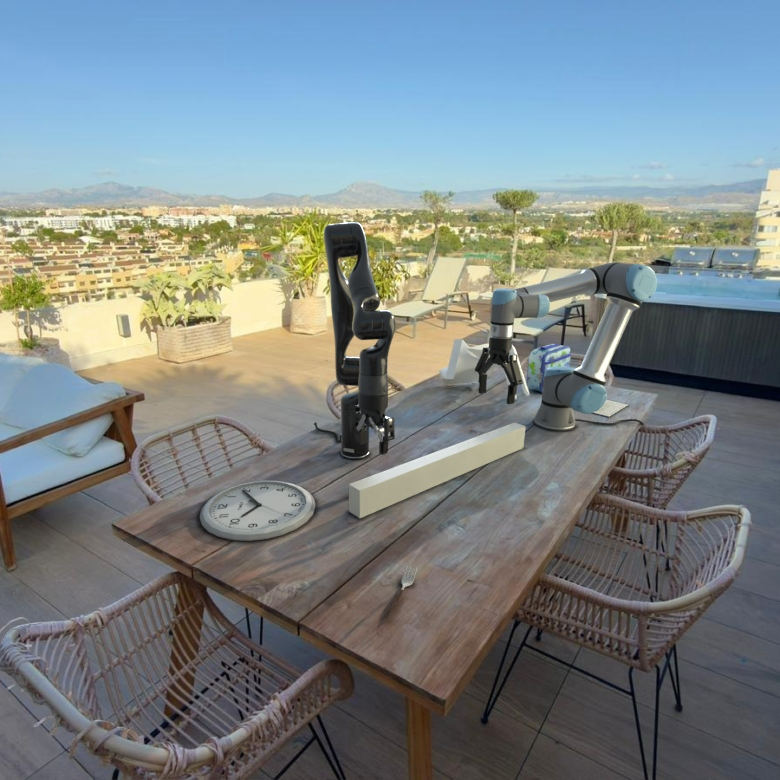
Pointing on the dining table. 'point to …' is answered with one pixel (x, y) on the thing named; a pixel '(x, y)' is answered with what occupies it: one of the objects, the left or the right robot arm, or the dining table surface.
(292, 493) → the wall clock
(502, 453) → the post
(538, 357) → the lunch box
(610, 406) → the invitation card
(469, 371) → the white plastic object
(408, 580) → the fork
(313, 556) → the dining table surface
